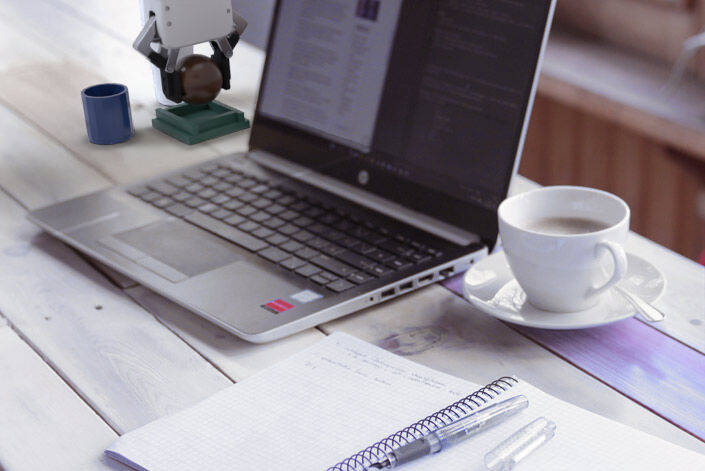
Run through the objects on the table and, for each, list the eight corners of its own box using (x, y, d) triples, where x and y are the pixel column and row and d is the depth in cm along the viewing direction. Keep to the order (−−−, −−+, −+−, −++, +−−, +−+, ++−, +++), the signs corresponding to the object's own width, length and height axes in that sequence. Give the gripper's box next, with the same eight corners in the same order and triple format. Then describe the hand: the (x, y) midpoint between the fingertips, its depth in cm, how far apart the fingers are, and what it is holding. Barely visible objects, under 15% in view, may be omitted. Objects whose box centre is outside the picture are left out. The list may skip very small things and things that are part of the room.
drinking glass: (171, 112, 126) (158, -1, 119) (141, 101, 130) (126, -9, 123) (211, 99, 130) (201, -11, 124) (180, 89, 135) (168, -18, 128)
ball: (191, 116, 116) (185, 66, 113) (164, 104, 120) (158, 54, 117) (234, 104, 119) (230, 54, 116) (207, 92, 124) (202, 44, 121)
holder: (189, 145, 115) (187, 128, 114) (152, 126, 122) (149, 110, 121) (250, 127, 121) (249, 110, 120) (211, 109, 127) (209, 93, 126)
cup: (101, 148, 115) (94, 101, 113) (80, 136, 119) (72, 90, 116) (142, 136, 118) (136, 90, 116) (120, 125, 122) (114, 80, 120)
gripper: (226, -67, 118) (238, 72, 127) (100, -47, 109) (121, 103, 117) (261, -60, 113) (271, 85, 121) (132, -38, 103) (152, 118, 112)
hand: (198, 92), depth 119 cm, fingers closed on ball, 6 cm apart
